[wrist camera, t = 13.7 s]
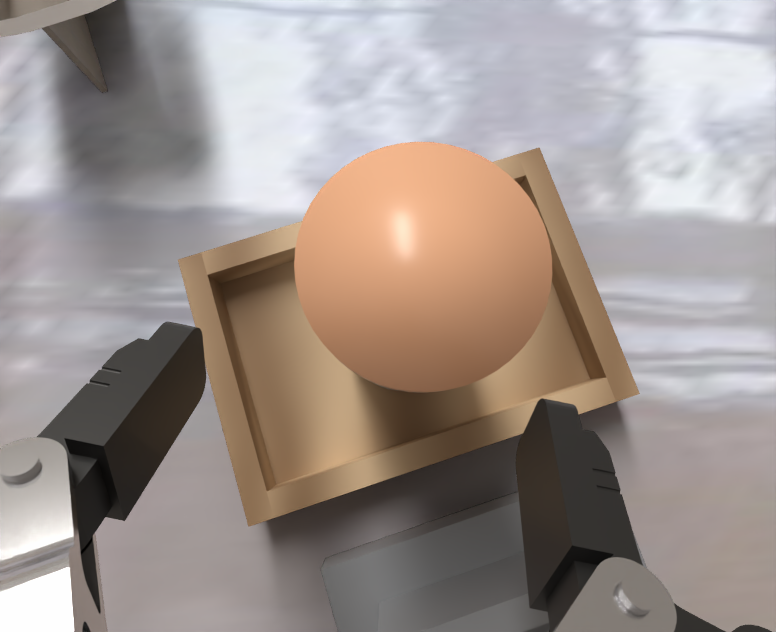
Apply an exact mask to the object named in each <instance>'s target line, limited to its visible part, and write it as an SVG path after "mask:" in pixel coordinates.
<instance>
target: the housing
mask: <svg viewBox="0 0 776 632" xmlns="http://www.w3.org/2000/svg"><path fill="white" fill-rule="evenodd" d="M633 534H634V533H633ZM634 538H635V536H634ZM635 541H636V539H635ZM636 544H637V541H636ZM637 548H638V551H639V555H640V558H641V561H642V564H643V566H644V567H645V568H647V567H646V564H645V562H644V559H643V557H642V554H641V552H640V549H639V546H638V544H637ZM321 573H322V576H323V580H324V583H325V587H326V591H327V594H328V598H329V601H330V605H331V608H332V612H333V615H334V619H335V622H336V626H337V629H338V632H548V630H549V629H550V626H549V618H548V612H546V611H541V610H536V609H531V608H530V607H529V596H528V586H527V576H526V566H525V556H524V546H523V535H522V525H521V515H520V505H519V495H518V492H515V493H512V494H509V495H506V496H503V497H501V498H498V499H495V500H492V501H489V502H486V503H483V504H480V505H477V506H474V507H472V508H469V509H466V510H463V511H460V512H457V513H454V514H451V515H448V516H446V517H443V518H440V519H437V520H434V521H431V522H428V523H425V524H422V525H420V526H417V527H414V528H411V529H408V530H405V531H402V532H399V533H396V534H393V535H391V536H388V537H385V538H382V539H379V540H376V541H373V542H370V543H367V544H365V545H362V546H359V547H356V548H353V549H350V550H347V551H344V552H341V553H339V554H336V555H333V556H330V557H327V558H325V561H324V563H323V566H322V568H321Z"/></svg>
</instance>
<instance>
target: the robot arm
mask: <svg viewBox="0 0 776 632" xmlns="http://www.w3.org/2000/svg"><path fill="white" fill-rule="evenodd" d="M205 383H206V369H205V358H204V346H203V335H202V331H201V329H200V328H197V327H192V326H187V325H182V324H177V323H173V322H165V323H163V324H162V325H161V326H160V327H159V329H158V330H157V331H156V332H155V333H154V334H153V336H152V337H151V338H150V339H149V340H144V339H137V340H135V341H133V342H131V343H130V344H128V345H126V346H124V347H123V348H121V349H119V350H117V351H116V352H115V353H114V354H113V356H112V357H111V358H110V359H109V360H108V361H107V362H106V363H105V364H104V365H103V366H102V370H99V371H98V372H97V373H96V374H95V375H94V376H93V377H92V378H91V379H90V383H89V384H86V385H85V386H84V387H83V388H82V389H81V390H80V391H79V392H78V393H77V394H76V396H75V397H74V398H73V399H72V400H71V401H70V402H69V403H68V404H67V405H66V406H65V407H64V409H63V410H62V411H61V412H60V413H59V414H58V415H57V416H56V417H55V418H54V419H53V420H52V422H51V423H50V424H49V425H48V426H47V427H46V428H45V429H44V430H43V431H42V432H41V433H40V434H39V435H38V436H37V437H35V438H27V439H22V440H18V441H15V442H12V443H10V444H7V445H5V446H3V447H1V448H0V632H108V629H107V624H106V618H105V609H104V601H103V592H102V584H101V575H100V567H99V558H98V550H97V541H96V535H95V532H96V530H97V529H98V527H99V526H100V524H101V523H102V521H103V520H104V518H105V517H109V518H113V519H118V520H123V521H125V520H126V518H127V516H128V515H129V513H130V512H131V510H132V508H133V507H134V505H135V504H136V502H137V500H138V499H139V497H140V496H141V494H142V492H143V491H144V489H145V488H146V486H147V484H148V483H149V481H150V480H151V478H152V476H153V475H154V473H155V472H156V470H157V468H158V467H159V465H160V464H161V462H162V460H163V459H164V457H165V456H166V454H167V452H168V451H169V449H170V448H171V446H172V444H173V443H174V441H175V440H176V438H177V436H178V435H179V433H180V432H181V430H182V428H183V427H184V425H185V424H186V422H187V420H188V419H189V417H190V415H191V414H192V412H193V411H194V409H195V407H196V406H197V404H198V403H199V401H200V399H201V397H202V394H203V391H204V388H205ZM516 474H517V484H518V495H519V505H520V515H521V525H522V535H523V546H524V556H525V566H526V576H527V586H528V596H529V607H530V608H531V609H536V610H541V611H546V612H548V618H549V626H550V629H549V630H548V632H725V631H723V630H721V629H719V628H717V627H716V626H714V625H712V624H710V623H708V622H706V621H704V620H702V619H700V618H698V617H697V616H695V615H693V614H691V613H689V612H687V611H685V610H684V609H682V608H680V607H679V606H677V605H676V604H675V603H674V602H673V600H672V598H671V596H670V594H669V592H668V591H667V589H666V588H665V586H664V585H663V584H662V582H661V581H660V580H659V579H658V578H657V577H656V576H655V575H654V574H653V573H652V572H651V571H649V570H648V569H647V568H645V567H644V566H643V564H642V561H641V558H640V555H639V551H638V548H637V544H636V541H635V538H634V534H633V531H632V528H631V524H630V521H629V517H628V514H627V511H626V507H625V504H624V500H623V497H622V495H621V494H620V487H619V484H618V480H617V477H615V470H614V467H613V463H612V460H611V457H610V453H609V451H608V450H607V448H606V447H605V446H604V444H603V443H602V441H601V440H600V439H599V437H598V436H597V434H596V433H595V432H593V431H588V430H583V429H582V426H581V422H580V418H579V414H578V410H577V408H576V406H575V405H573V404H569V403H564V402H559V401H554V400H549V399H544V398H541V399H540V400H539V401H538V402H537V404H536V406H535V409H534V411H533V413H532V415H531V417H530V420H529V422H528V424H527V426H526V428H525V430H524V433H523V435H522V437H521V439H520V442H519V445H518V449H517V454H516ZM732 632H772V631H770V630H768V629H765V628H762V627H760V626H755V625H743V626H739V627H738V628H736V629H735V630H734V631H732Z"/></svg>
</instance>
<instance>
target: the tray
mask: <svg viewBox="0 0 776 632" xmlns="http://www.w3.org/2000/svg"><path fill="white" fill-rule="evenodd" d="M492 163H494V164H495V165H497V166H498V167H500V168H501V169H502V170H504V171H505V172H506V173H508V174H509V175H510V176H511V177H512V178H513V179H514V180H515V181H516V182H517V183H518V184H519V185H520V186H521V188H522V189H523V190H524V191H525V192H526V194H527V195H528V196H529V198H530V199H531V201H532V202H533V204H534V206H535V207H536V209H537V210H538V212H539V215H540V217H541V219H542V221H543V223H544V226H545V229H546V232H547V235H548V239H549V243H550V249H551V255H552V282H551V290H550V294H549V299H548V303H547V306H546V309H545V311H544V314H543V316H542V319H541V321H540V323H539V325H538V327H537V328H536V330H535V332H534V334H533V335H532V337H531V338H530V339H529V341H528V342H527V343H526V345H525V346H524V347H523V348H522V350H521V351H520V352H519V353H518V354H517V355H515V356H514V357H513V358H512V359H511V360H510V361H509V362H508V363H507V364H505V365H504V366H503V367H501V368H500V369H499V370H497V371H496V372H494V373H492V374H490V375H488V376H487V377H485V378H483V379H481V380H479V381H476V382H474V383H471V384H468V385H466V386H462V387H458V388H454V389H450V390H445V391H438V392H429V393H416V392H405V391H396V390H389V389H386V388H383V387H380V386H378V385H376V384H374V383H372V382H370V381H368V380H366V379H364V378H362V377H361V376H359V375H358V374H356V373H354V372H353V371H351V370H350V369H348V368H347V367H346V366H345V365H344V364H342V363H341V362H340V361H339V360H338V359H337V358H336V357H335V356H334V355H333V354H332V353H331V352H330V351H329V350H328V349H327V348H326V346H325V345H324V344H323V343H322V342H321V341H320V339H319V338H318V336H317V335H316V333H315V332H314V331H313V329H312V327H311V325H310V323H309V322H308V320H307V318H306V316H305V314H304V311H303V308H302V306H301V303H300V300H299V297H298V292H297V287H296V283H295V270H294V260H295V247H296V242H297V237H298V233H299V230H300V227H301V224H302V221H301V222H298V223H295V224H291V225H288V226H285V227H282V228H279V229H275V230H272V231H269V232H266V233H262V234H259V235H256V236H253V237H250V238H246V239H243V240H240V241H237V242H234V243H230V244H227V245H224V246H221V247H217V248H214V249H211V250H208V251H205V252H201V253H198V254H195V255H192V256H188V257H185V258H182V259H179V260H178V262H179V266H180V270H181V274H182V277H183V281H184V285H185V289H186V292H187V296H188V300H189V304H190V308H191V311H192V315H193V319H194V323H195V326H196V327H197V328H200V329H201V331H202V335H203V346H204V358H205V364H206V368H207V372H208V375H209V379H210V383H211V387H212V391H213V394H214V398H215V402H216V406H217V409H218V413H219V417H220V421H221V425H222V428H223V432H224V436H225V440H226V443H227V447H228V451H229V455H230V459H231V462H232V466H233V470H234V474H235V477H236V481H237V485H238V489H239V492H240V496H241V500H242V504H243V508H244V511H245V515H246V519H247V523H248V526H252V525H255V524H258V523H261V522H264V521H267V520H270V519H273V518H275V517H278V516H281V515H284V514H287V513H290V512H293V511H296V510H299V509H302V508H305V507H308V506H311V505H314V504H317V503H320V502H323V501H326V500H328V499H331V498H334V497H337V496H340V495H343V494H346V493H349V492H352V491H355V490H358V489H361V488H364V487H367V486H370V485H373V484H376V483H378V482H381V481H384V480H387V479H390V478H393V477H396V476H399V475H402V474H405V473H408V472H411V471H414V470H417V469H420V468H423V467H426V466H428V465H431V464H434V463H437V462H440V461H443V460H446V459H449V458H452V457H455V456H458V455H461V454H464V453H467V452H470V451H473V450H476V449H479V448H481V447H484V446H487V445H490V444H493V443H496V442H499V441H502V440H505V439H508V438H511V437H514V436H517V435H520V434H523V433H524V430H525V428H526V426H527V424H528V422H529V420H530V417H531V415H532V413H533V411H534V409H535V406H536V404H537V402H538V401H539V400H540V399H541V398H544V399H549V400H554V401H559V402H564V403H569V404H573V405H575V406H576V408H577V410H578V414H581V413H584V412H587V411H590V410H593V409H596V408H599V407H602V406H605V405H608V404H611V403H614V402H617V401H620V400H623V399H626V398H629V397H632V396H634V395H637V394H640V393H639V391H638V389H637V386H636V384H635V381H634V379H633V376H632V374H631V371H630V369H629V366H628V364H627V361H626V359H625V357H624V354H623V352H622V349H621V347H620V344H619V342H618V339H617V337H616V334H615V332H614V330H613V327H612V325H611V322H610V320H609V317H608V315H607V312H606V310H605V307H604V305H603V303H602V300H601V298H600V295H599V293H598V290H597V288H596V285H595V283H594V280H593V278H592V276H591V273H590V271H589V268H588V266H587V263H586V261H585V258H584V256H583V253H582V251H581V248H580V246H579V244H578V241H577V239H576V236H575V234H574V231H573V229H572V226H571V224H570V221H569V219H568V217H567V214H566V212H565V209H564V207H563V204H562V202H561V199H560V197H559V194H558V192H557V190H556V187H555V185H554V182H553V180H552V177H551V175H550V172H549V170H548V167H547V165H546V162H545V160H544V158H543V155H542V153H541V150H540V148H536V149H533V150H530V151H527V152H523V153H520V154H517V155H514V156H510V157H507V158H504V159H501V160H498V161H494V162H492Z"/></svg>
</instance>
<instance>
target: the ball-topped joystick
mask: <svg viewBox="0 0 776 632" xmlns="http://www.w3.org/2000/svg"><path fill="white" fill-rule="evenodd" d="M294 270H295V283H296V287H297V292H298V297H299V300H300V303H301V306H302V308H303V311H304V314H305V316H306V318H307V320H308V322H309V323H310V325H311V327H312V329H313V331H314V332H315V333H316V335H317V336H318V338H319V339H320V341H321V342H322V343H323V344H324V345H325V346H326V348H327V349H328V350H329V351H330V352H331V353H332V354H333V355H334V356H335V357H336V358H337V359H338V360H339V361H340V362H341V363H342V364H344V365H345V366H346V367H347V368H348V369H350V370H351V371H353V372H354V373H356V374H358V375H359V376H361V377H362V378H364V379H366V380H368V381H370V382H372V383H374V384H376V385H378V386H380V387H383V388H386V389H389V390H396V391H405V392H416V393H429V392H438V391H445V390H450V389H454V388H458V387H462V386H466V385H468V384H471V383H474V382H476V381H479V380H481V379H483V378H485V377H487V376H488V375H490V374H492V373H494V372H496V371H497V370H499V369H500V368H501V367H503V366H504V365H505V364H507V363H508V362H509V361H510V360H511V359H512V358H513V357H514V356H515V355H517V354H518V353H519V352H520V351H521V350H522V348H523V347H524V346H525V345H526V343H527V342H528V341H529V339H530V338H531V337H532V335H533V334H534V332H535V330H536V328H537V327H538V325H539V323H540V321H541V319H542V316H543V314H544V311H545V309H546V306H547V303H548V299H549V294H550V290H551V282H552V255H551V249H550V243H549V239H548V235H547V232H546V229H545V226H544V223H543V221H542V219H541V217H540V215H539V212H538V210H537V209H536V207H535V206H534V204H533V202H532V201H531V199H530V198H529V196H528V195H527V194H526V192H525V191H524V190H523V189H522V188H521V186H520V185H519V184H518V183H517V182H516V181H515V180H514V179H513V178H512V177H511V176H510V175H509V174H508V173H506V172H505V171H504V170H502V169H501V168H500V167H498V166H497V165H495V164H494V163H492V162H491V161H489V160H487V159H485V158H484V157H482V156H480V155H478V154H475V153H473V152H470V151H468V150H466V149H462V148H459V147H455V146H452V145H447V144H441V143H434V142H410V143H400V144H396V145H391V146H386V147H383V148H380V149H377V150H375V151H372V152H369V153H367V154H365V155H363V156H361V157H359V158H357V159H355V160H354V161H352V162H351V163H349V164H348V165H346V166H345V167H343V168H342V169H341V170H340V171H338V172H337V173H336V174H335V175H334V176H333V177H331V178H330V179H329V181H328V182H327V183H326V184H325V185H324V186H323V187H322V188H321V190H320V191H319V192H318V194H317V195H316V197H315V198H314V200H313V201H312V203H311V204H310V206H309V208H308V210H307V212H306V214H305V216H304V218H303V221H302V224H301V227H300V230H299V233H298V237H297V242H296V247H295V260H294Z"/></svg>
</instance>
